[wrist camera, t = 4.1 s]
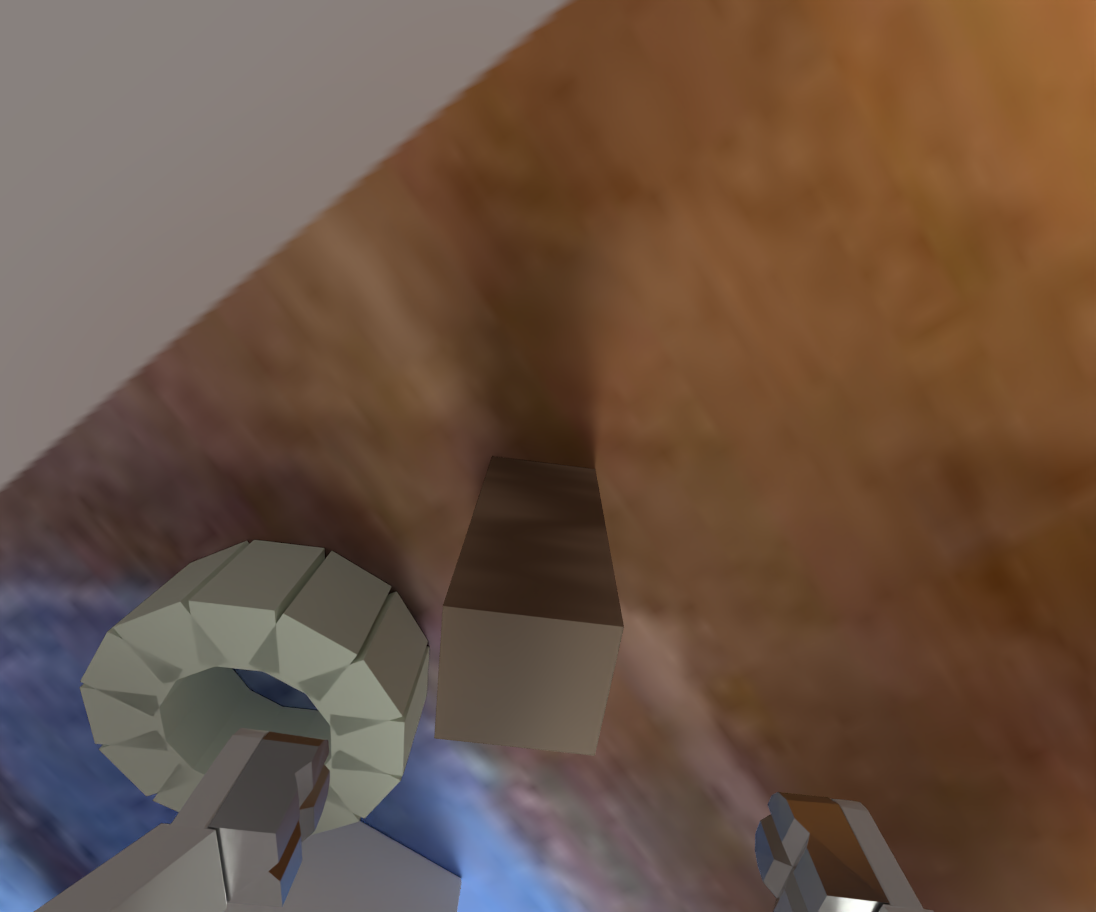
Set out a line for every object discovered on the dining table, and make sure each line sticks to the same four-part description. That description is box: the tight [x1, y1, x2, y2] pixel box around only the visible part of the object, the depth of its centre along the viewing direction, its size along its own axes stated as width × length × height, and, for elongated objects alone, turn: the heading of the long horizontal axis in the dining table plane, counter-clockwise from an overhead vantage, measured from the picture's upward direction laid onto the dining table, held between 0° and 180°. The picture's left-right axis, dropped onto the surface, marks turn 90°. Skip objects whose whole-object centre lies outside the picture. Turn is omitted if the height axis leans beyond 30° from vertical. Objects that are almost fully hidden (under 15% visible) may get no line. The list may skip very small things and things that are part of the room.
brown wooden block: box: [434, 456, 624, 756], centre depth 16 cm, size 4×4×9 cm
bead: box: [80, 540, 429, 835], centre depth 21 cm, size 12×12×4 cm
